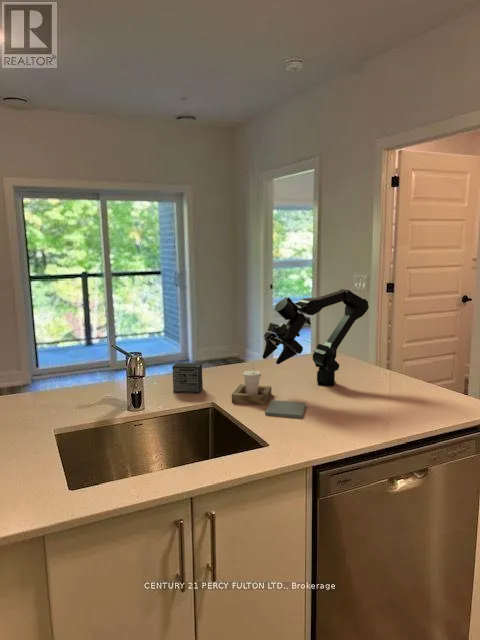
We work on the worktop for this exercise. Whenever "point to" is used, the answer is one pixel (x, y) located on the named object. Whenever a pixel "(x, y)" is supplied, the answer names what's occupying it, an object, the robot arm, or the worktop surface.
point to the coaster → (286, 409)
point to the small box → (187, 378)
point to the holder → (251, 395)
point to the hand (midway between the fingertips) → (269, 360)
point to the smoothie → (252, 380)
